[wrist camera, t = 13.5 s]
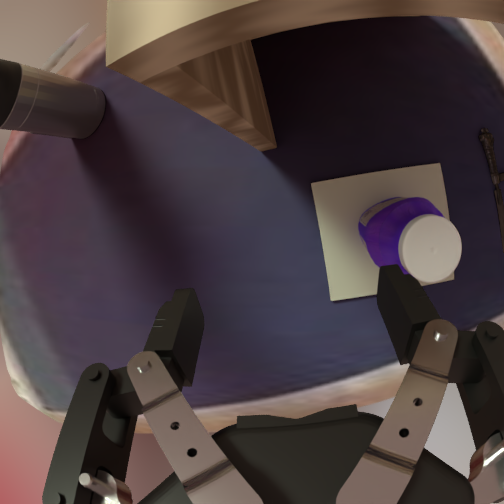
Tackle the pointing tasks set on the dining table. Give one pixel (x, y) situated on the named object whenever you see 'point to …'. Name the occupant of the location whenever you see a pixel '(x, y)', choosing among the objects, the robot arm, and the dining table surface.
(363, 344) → the dining table surface
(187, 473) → the robot arm
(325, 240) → the mat
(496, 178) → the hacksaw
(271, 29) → the wooden slatted crate
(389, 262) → the bottle
